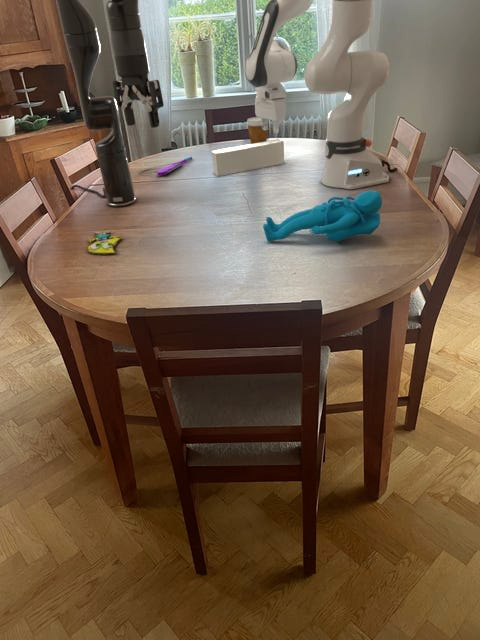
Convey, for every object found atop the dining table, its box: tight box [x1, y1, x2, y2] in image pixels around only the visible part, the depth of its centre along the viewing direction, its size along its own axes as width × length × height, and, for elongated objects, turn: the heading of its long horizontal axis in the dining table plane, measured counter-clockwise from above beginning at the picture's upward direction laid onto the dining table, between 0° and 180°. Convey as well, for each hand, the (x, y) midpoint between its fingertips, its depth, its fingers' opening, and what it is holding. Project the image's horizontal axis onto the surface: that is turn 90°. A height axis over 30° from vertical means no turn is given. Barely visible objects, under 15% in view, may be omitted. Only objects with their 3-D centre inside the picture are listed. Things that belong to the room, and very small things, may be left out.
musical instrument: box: [138, 156, 193, 177], centre depth 196 cm, size 24×2×20 cm
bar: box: [211, 138, 285, 177], centre depth 185 cm, size 28×5×8 cm, turn 112°
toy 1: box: [87, 230, 123, 255], centre depth 134 cm, size 10×1×15 cm
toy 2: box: [262, 190, 383, 243], centre depth 124 cm, size 17×11×30 cm
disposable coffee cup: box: [246, 116, 269, 144], centre depth 210 cm, size 10×10×12 cm
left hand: (143, 126), depth 120 cm, fingers open, 8 cm apart
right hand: (270, 131), depth 183 cm, fingers open, 8 cm apart
